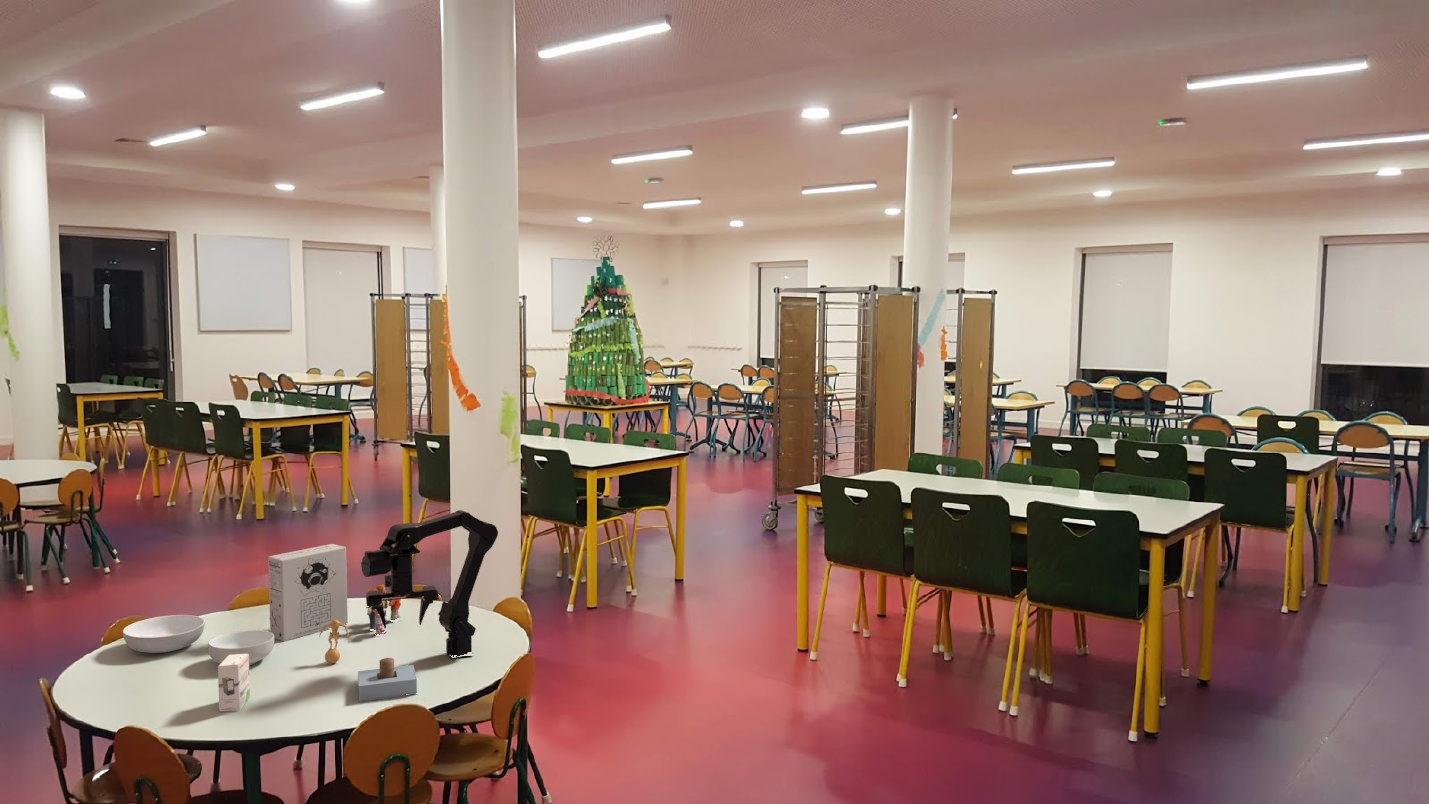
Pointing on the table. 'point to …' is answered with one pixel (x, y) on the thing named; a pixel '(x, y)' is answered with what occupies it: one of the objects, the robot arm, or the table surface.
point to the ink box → (233, 682)
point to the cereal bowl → (241, 645)
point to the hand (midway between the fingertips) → (402, 626)
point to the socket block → (386, 683)
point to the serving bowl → (163, 633)
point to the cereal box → (307, 591)
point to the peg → (386, 668)
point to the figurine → (334, 654)
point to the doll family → (375, 617)
